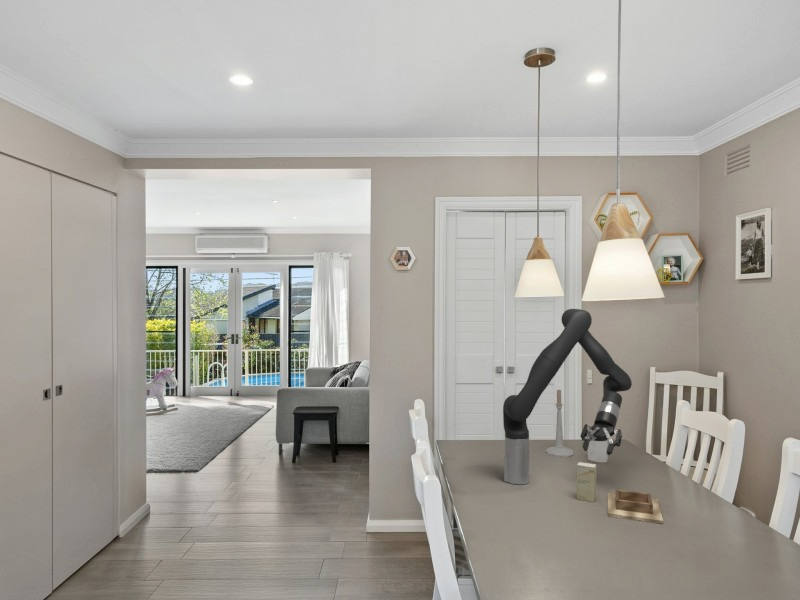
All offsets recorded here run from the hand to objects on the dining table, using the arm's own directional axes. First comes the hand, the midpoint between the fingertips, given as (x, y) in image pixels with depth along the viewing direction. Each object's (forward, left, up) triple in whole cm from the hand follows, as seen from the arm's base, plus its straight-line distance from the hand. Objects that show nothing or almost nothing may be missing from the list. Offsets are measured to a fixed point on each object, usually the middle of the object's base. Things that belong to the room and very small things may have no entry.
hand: (596, 451), depth 188 cm
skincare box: (-3, -9, -15) cm, 18 cm away
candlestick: (-17, +49, -15) cm, 54 cm away
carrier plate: (+12, -13, -15) cm, 23 cm away
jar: (0, +43, -15) cm, 45 cm away
